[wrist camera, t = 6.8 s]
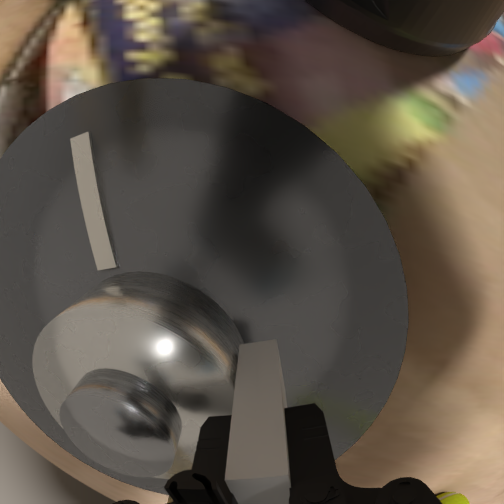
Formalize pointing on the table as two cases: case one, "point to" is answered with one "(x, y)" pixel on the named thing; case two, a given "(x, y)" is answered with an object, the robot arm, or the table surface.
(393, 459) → the table surface
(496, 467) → the table surface
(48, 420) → the turntable
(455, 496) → the tennis ball
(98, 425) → the cover
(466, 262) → the table surface
